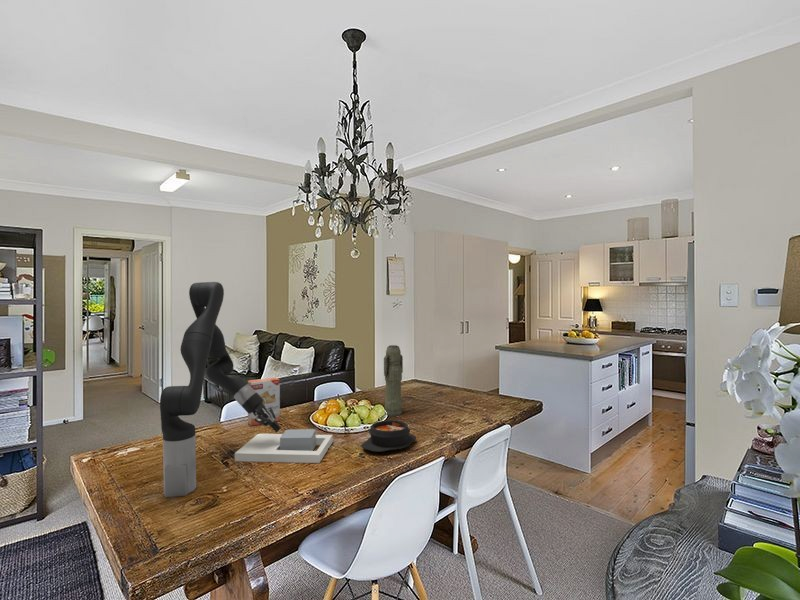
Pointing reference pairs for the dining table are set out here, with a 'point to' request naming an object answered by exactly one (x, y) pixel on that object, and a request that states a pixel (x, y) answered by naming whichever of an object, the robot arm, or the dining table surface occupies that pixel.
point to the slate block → (298, 440)
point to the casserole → (388, 436)
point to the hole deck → (269, 450)
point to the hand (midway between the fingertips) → (278, 430)
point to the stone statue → (393, 380)
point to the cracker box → (266, 396)
